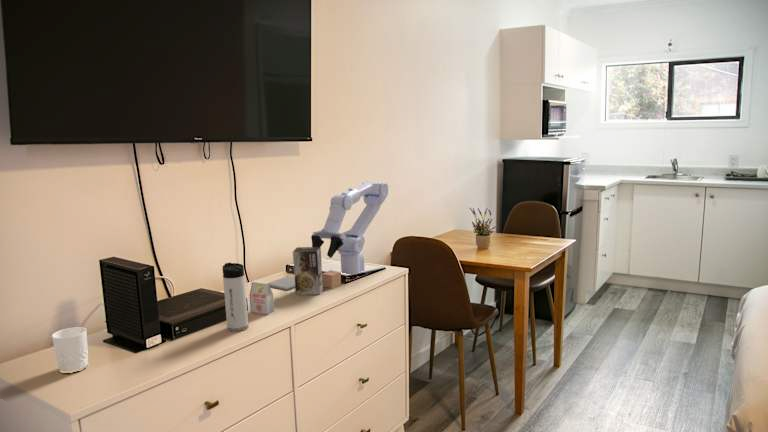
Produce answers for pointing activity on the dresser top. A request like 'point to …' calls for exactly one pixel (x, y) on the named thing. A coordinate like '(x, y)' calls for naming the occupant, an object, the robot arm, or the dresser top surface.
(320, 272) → the coffee box
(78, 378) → the dresser top surface
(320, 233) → the robot arm
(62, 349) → the white cup
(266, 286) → the white printed carton
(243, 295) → the travel mug
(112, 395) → the dresser top surface
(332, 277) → the cube
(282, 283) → the coaster
